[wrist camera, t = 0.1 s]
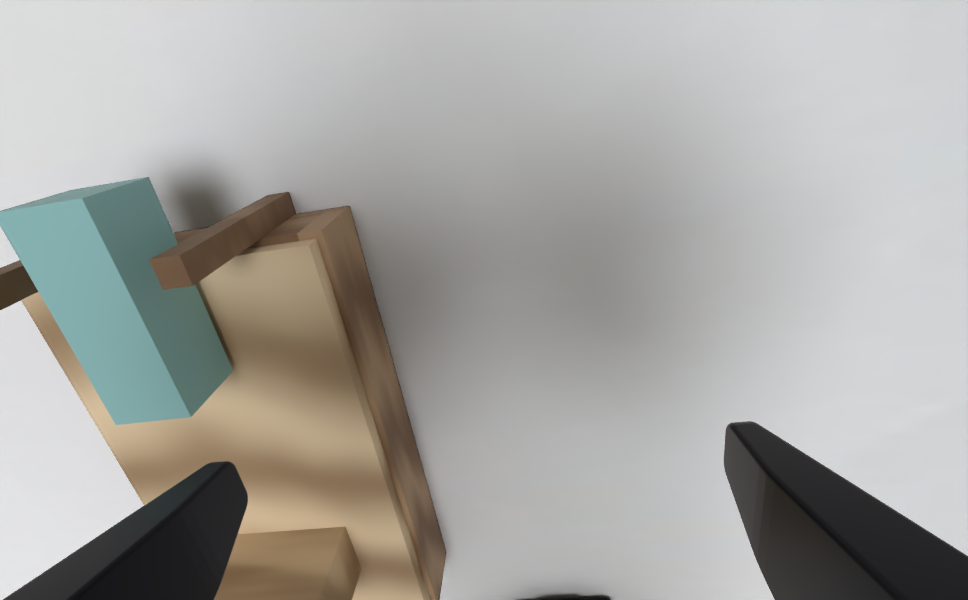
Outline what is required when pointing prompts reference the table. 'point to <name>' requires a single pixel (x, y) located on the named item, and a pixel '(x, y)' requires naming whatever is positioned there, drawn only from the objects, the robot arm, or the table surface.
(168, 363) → the teal block
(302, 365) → the lid
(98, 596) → the robot arm
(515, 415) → the table surface
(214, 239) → the toolbox
